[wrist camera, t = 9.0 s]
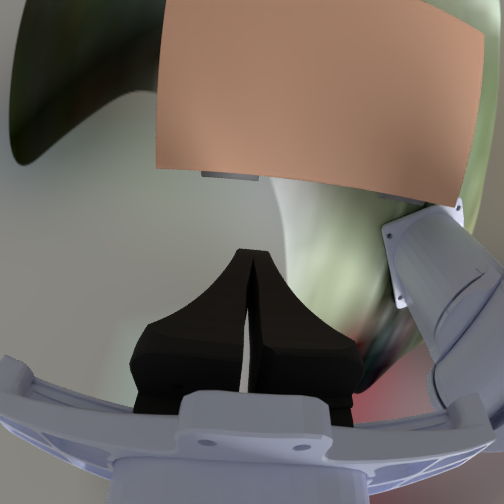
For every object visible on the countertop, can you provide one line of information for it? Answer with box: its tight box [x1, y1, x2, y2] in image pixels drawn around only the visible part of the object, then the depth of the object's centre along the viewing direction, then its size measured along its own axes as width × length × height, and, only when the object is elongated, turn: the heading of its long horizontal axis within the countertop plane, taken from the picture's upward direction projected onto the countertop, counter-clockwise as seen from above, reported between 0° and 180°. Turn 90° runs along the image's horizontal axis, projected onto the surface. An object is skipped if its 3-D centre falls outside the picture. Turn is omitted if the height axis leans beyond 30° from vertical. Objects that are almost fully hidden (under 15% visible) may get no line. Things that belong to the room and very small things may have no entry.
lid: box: [156, 0, 484, 208], centre depth 12 cm, size 13×18×1 cm
